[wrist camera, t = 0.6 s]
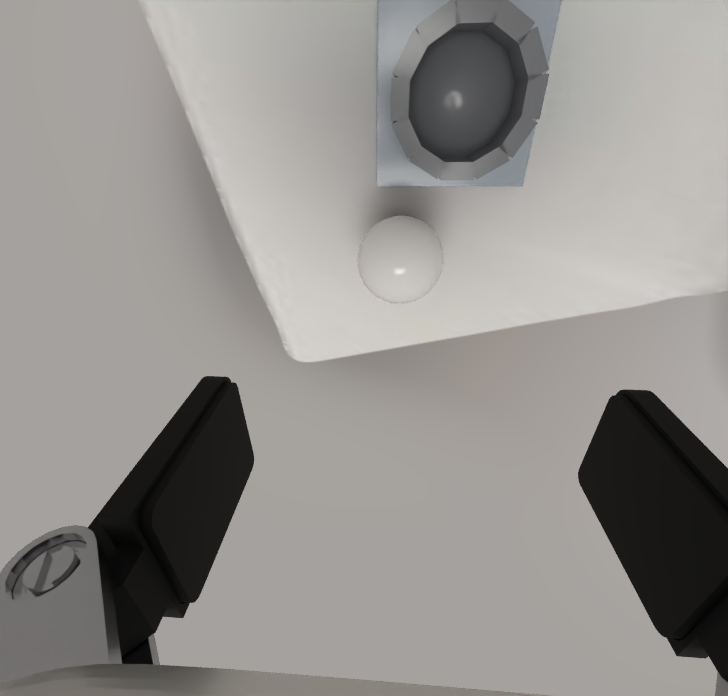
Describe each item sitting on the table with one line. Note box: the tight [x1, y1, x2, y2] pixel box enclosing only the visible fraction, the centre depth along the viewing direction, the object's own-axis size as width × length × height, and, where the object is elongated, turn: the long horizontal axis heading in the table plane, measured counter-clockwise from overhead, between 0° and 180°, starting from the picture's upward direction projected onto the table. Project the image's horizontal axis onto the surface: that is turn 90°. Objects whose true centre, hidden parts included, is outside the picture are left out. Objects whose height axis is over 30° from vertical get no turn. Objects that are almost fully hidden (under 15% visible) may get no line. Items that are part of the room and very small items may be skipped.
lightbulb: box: [357, 216, 443, 304], centre depth 29 cm, size 6×6×11 cm
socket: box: [377, 0, 562, 186], centre depth 26 cm, size 12×12×5 cm
